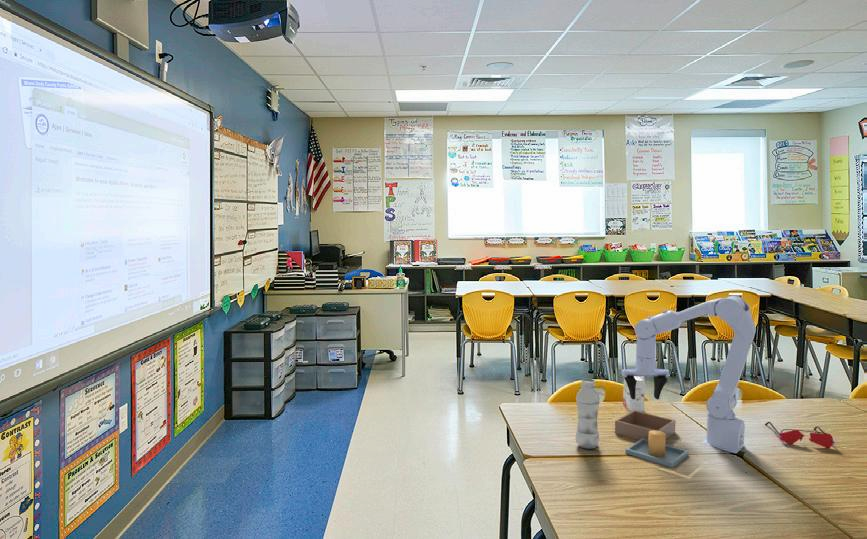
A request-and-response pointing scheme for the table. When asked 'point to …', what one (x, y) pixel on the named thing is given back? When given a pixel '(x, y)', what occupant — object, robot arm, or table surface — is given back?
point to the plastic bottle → (587, 415)
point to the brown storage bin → (643, 425)
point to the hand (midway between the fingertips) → (644, 398)
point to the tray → (670, 458)
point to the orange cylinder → (656, 443)
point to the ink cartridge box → (639, 395)
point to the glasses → (795, 435)
